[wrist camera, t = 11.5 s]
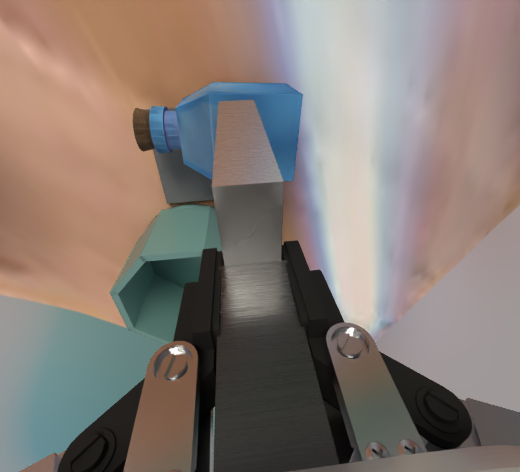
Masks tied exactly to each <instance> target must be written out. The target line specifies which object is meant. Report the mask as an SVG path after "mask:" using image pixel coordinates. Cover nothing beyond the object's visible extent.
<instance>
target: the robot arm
mask: <svg viewBox="0 0 520 472" xmlns="http://www.w3.org/2000/svg"><path fill="white" fill-rule="evenodd" d="M281 260H287V263H285V264H286V268H287V272H288V276H289V280H290V284H291V288H292V292H293V296H294V300H295V304H296V308H297V313H298V317H299V321H300V325H301V326H304V329H305V333H306V337H307V341H308V344H309V348H310V352H311V356H312V360H313V364H314V368H315V372H316V375H317V379H318V383H319V387H320V391H321V395H322V399H323V403H324V407H325V410H326V414H327V418H328V422H329V426H330V430H331V434H332V438H333V441H334V445H335V449H336V453H337V457H338V461H339V465H332V466H325V467H318V468H311V469H304V470H297V471H290V472H520V412H516V411H513V410H509V409H505V408H502V407H499V406H495V405H491V404H488V403H484V402H481V401H477V400H474V399H470V398H467V399H466V400H465V401H464V400H461V399H458V398H457V397H456V396H455V395H454V394H453V393H452V392H450V391H449V390H447V389H446V388H444V387H443V386H441V385H439V384H437V383H436V382H434V381H432V380H430V379H428V378H426V377H425V376H423V375H421V374H419V373H417V372H415V371H414V370H412V369H410V368H408V367H406V366H404V365H403V364H401V363H399V362H397V361H396V360H393V359H392V358H390V357H388V356H386V355H385V354H383V353H381V352H379V351H378V348H377V346H376V344H375V342H374V340H373V338H372V337H371V335H370V334H369V333H368V332H367V331H366V330H365V329H363V328H361V327H360V326H358V325H355V324H352V323H345V322H344V320H343V318H342V316H341V314H340V311H339V309H338V307H337V305H336V302H335V300H334V298H333V296H332V294H331V291H330V289H329V287H328V285H327V282H326V280H325V278H324V276H323V274H322V272H321V271H320V270H313V271H310V270H309V267H308V265H307V262H306V260H305V257H304V254H303V252H302V249H301V247H300V244H299V242H298V241H286V242H284V245H282V249H281ZM219 266H225V265H224V258H223V252H222V251H217V248H209V249H203V252H202V259H201V265H200V272H199V279H198V282H190V283H186V284H185V286H184V290H183V295H182V300H181V305H180V310H179V315H178V320H177V324H176V329H175V334H174V339H173V342H171V343H168V344H166V345H164V346H162V347H161V348H160V349H159V350H158V351H157V352H155V354H154V355H153V356H152V358H151V359H150V362H149V364H148V367H147V372H146V376H145V378H144V379H143V380H142V381H141V382H140V383H138V384H137V385H136V386H135V387H134V388H133V389H132V390H130V391H129V392H128V393H127V394H126V395H125V396H123V397H122V398H121V399H120V400H119V401H118V402H117V403H115V404H114V405H113V406H112V407H111V408H110V409H109V410H107V411H106V412H105V413H104V414H103V415H102V416H100V417H99V418H98V419H97V420H96V421H95V422H93V423H92V424H91V425H90V426H89V427H88V428H86V429H85V430H84V431H83V432H82V433H81V434H80V435H79V436H78V437H77V438H76V439H75V440H74V441H73V442H72V443H71V444H70V446H69V447H68V448H67V450H66V451H64V452H62V453H61V454H59V455H57V454H56V453H53V454H51V455H49V456H47V457H45V458H44V459H42V460H40V461H38V462H36V463H34V464H33V465H31V466H29V467H27V468H25V469H24V470H22V471H20V472H213V408H214V407H215V397H216V359H217V336H219V335H220V303H221V270H219Z"/></svg>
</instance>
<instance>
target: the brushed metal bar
mask: <svg viewBox="0 0 520 472" xmlns="http://www.w3.org/2000/svg"><path fill="white" fill-rule="evenodd" d="M283 186H284V181H283V178H282V176H281V173H280V170H279V167H278V165H277V162H276V159H275V156H274V154H273V151H272V148H271V145H270V143H269V140H268V137H267V135H266V132H265V129H264V126H263V124H262V121H261V118H260V115H259V113H258V110H257V107H256V104H255V102H254V100H237V101H219V105H218V117H217V129H216V141H215V153H214V165H213V177H212V192H213V198H214V204H215V210H216V216H217V222H218V228H219V234H220V240H221V246H222V252H223V258H224V265H225V266H219V270H221V303H220V335H219V336H217V359H216V397H215V436H214V438H215V439H214V472H290V471H297V470H304V469H311V468H318V467H325V466H332V465H339V461H338V457H337V453H336V449H335V445H334V441H333V438H332V434H331V430H330V426H329V422H328V418H327V414H326V410H325V407H324V403H323V399H322V395H321V391H320V387H319V383H318V379H317V375H316V372H315V368H314V364H313V360H312V356H311V352H310V348H309V344H308V341H307V337H306V333H305V329H304V326H301V325H300V321H299V317H298V313H297V308H296V304H295V300H294V296H293V292H292V288H291V284H290V280H289V276H288V272H287V268H286V264H285V263H287V260H281V249H282V218H283Z"/></svg>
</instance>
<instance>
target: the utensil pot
mask: <svg viewBox="0 0 520 472" xmlns="http://www.w3.org/2000/svg"><path fill="white" fill-rule="evenodd" d="M209 248H217V251H222V246H221V240H220V234H219V228H218V222H217V216H216V210H215V207H212V206H208V205H203V204H182V205H177V206H174V207H171V208H169V209H166V210H161V212H160V213H159V214H158V215H157V216H156V217H155V218H154V219H153V220H152V221H151V223H150V224H149V226H148V228H147V229H146V231H145V232H144V233H143V234H142V236H141V237H140V238H139V239H138V241H137V242H136V244H135V246H134V248H133V250H132V251H131V253H130V255H129V257H128V259H127V261H126V263H125V265H124V267H123V268H122V270H121V272H120V274H119V276H118V278H117V280H116V282H115V284H114V286H113V287H112V289H111V291H110V294H111V296H112V298H113V300H114V302H115V304H116V306H117V308H118V310H119V312H120V314H121V316H122V318H123V320H124V322H125V324H126V326H127V328H128V330H129V331H132V332H134V333H137V334H139V335H142V336H144V337H147V338H149V339H152V340H154V341H157V342H160V343H162V344H164V345H166V344H168V343H171V342H173V339H174V334H175V329H176V324H177V320H178V315H179V310H180V305H181V300H182V295H183V290H184V286H185V284H186V283H190V282H198V279H199V272H200V265H201V259H202V252H203V249H209Z"/></svg>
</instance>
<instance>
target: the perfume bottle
mask: <svg viewBox="0 0 520 472" xmlns="http://www.w3.org/2000/svg"><path fill="white" fill-rule="evenodd" d="M302 97H303V95H302V94H301V93H299V92H298V91H296V90H295V89H293V88H292V87H290V86H289V85H287V84H277V83H229V82H213V83H211V84H209V85H207V86H206V87H204V88H202V89H200V90H198V91H196V92H195V93H193V94H191V95H189V96H187V97H185V98H184V99H183V100H182V101H181V102H180V103H179V104H178V106H177V107H176V108H175V109H176V111H169V110H168V108H167V107H162V106H152V107H151V109H150V111H147V110H143V109H139V108H135V110H134V113H133V129H134V134H135V138H136V141H137V144H138V146H139V148H140V149H141V150H142V151H147V150H151V149H156V151H157V152H158V153H172V151H173V149H182V156H183V163H184V164H185V165H187V166H189V167H191V168H192V169H194V170H196V171H198V172H199V173H201V174H203V175H205V176H206V177H208V178H210V179H212V177H213V165H214V153H215V141H216V129H217V117H218V105H219V101H237V100H254V102H255V104H256V107H257V110H258V113H259V115H260V118H261V121H262V124H263V126H264V129H265V132H266V135H267V137H268V140H269V143H270V145H271V148H272V151H273V154H274V156H275V159H276V162H277V165H278V167H279V170H280V173H281V176H282V178H283V181H293V178H294V169H295V160H296V151H297V142H298V133H299V124H300V115H301V106H302Z"/></svg>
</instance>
